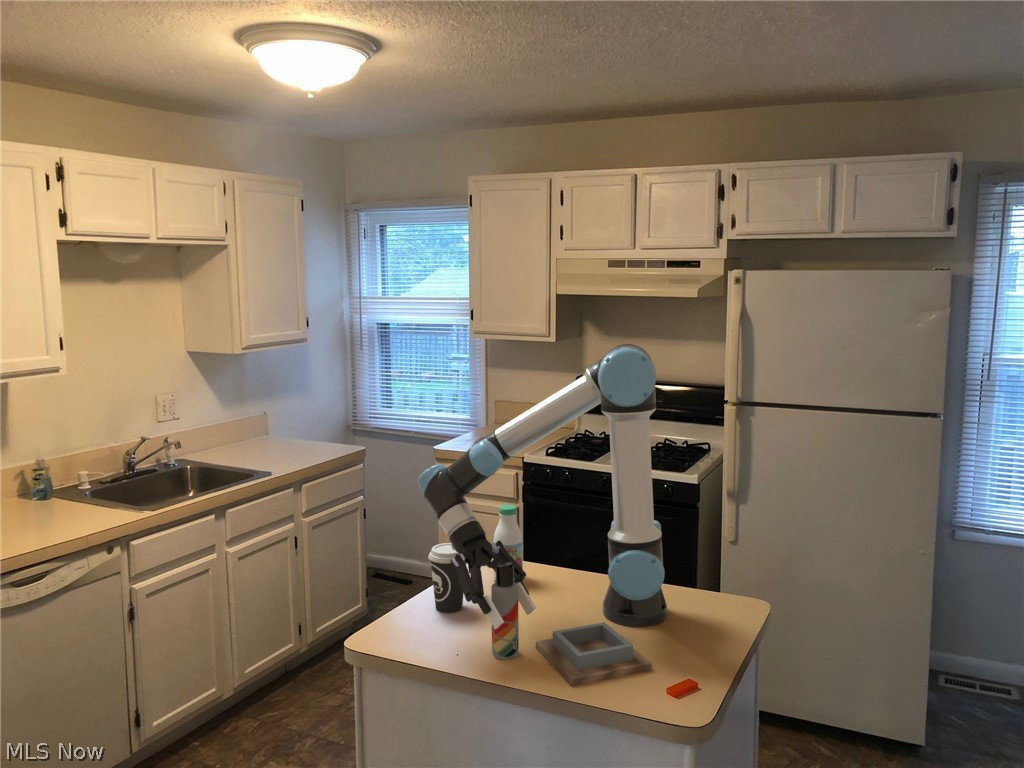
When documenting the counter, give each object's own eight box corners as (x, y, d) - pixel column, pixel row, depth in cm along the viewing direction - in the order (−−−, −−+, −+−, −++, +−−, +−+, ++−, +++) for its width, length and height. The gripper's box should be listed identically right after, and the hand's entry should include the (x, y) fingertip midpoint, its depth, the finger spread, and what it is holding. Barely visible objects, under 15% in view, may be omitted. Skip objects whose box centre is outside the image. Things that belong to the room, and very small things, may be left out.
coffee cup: (463, 617, 189) (462, 556, 188) (424, 614, 191) (423, 553, 190) (473, 601, 199) (472, 543, 197) (436, 598, 201) (434, 540, 199)
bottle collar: (604, 635, 176) (604, 622, 175) (632, 659, 164) (632, 645, 164) (552, 644, 171) (552, 631, 171) (578, 670, 160) (578, 656, 159)
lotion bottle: (509, 662, 167) (508, 569, 164) (486, 655, 170) (485, 564, 167) (523, 651, 171) (523, 561, 169) (501, 645, 174) (500, 556, 172)
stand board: (609, 634, 180) (609, 628, 179) (651, 670, 163) (651, 663, 163) (535, 648, 173) (535, 641, 173) (571, 686, 156) (571, 679, 156)
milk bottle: (492, 575, 217) (492, 503, 214) (521, 574, 217) (520, 502, 215) (494, 585, 209) (493, 511, 207) (524, 584, 210) (523, 510, 207)
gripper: (489, 527, 186) (541, 611, 177) (417, 549, 171) (469, 643, 162) (506, 509, 182) (559, 594, 173) (433, 530, 166) (487, 626, 157)
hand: (515, 618), depth 167 cm, fingers open, 9 cm apart
